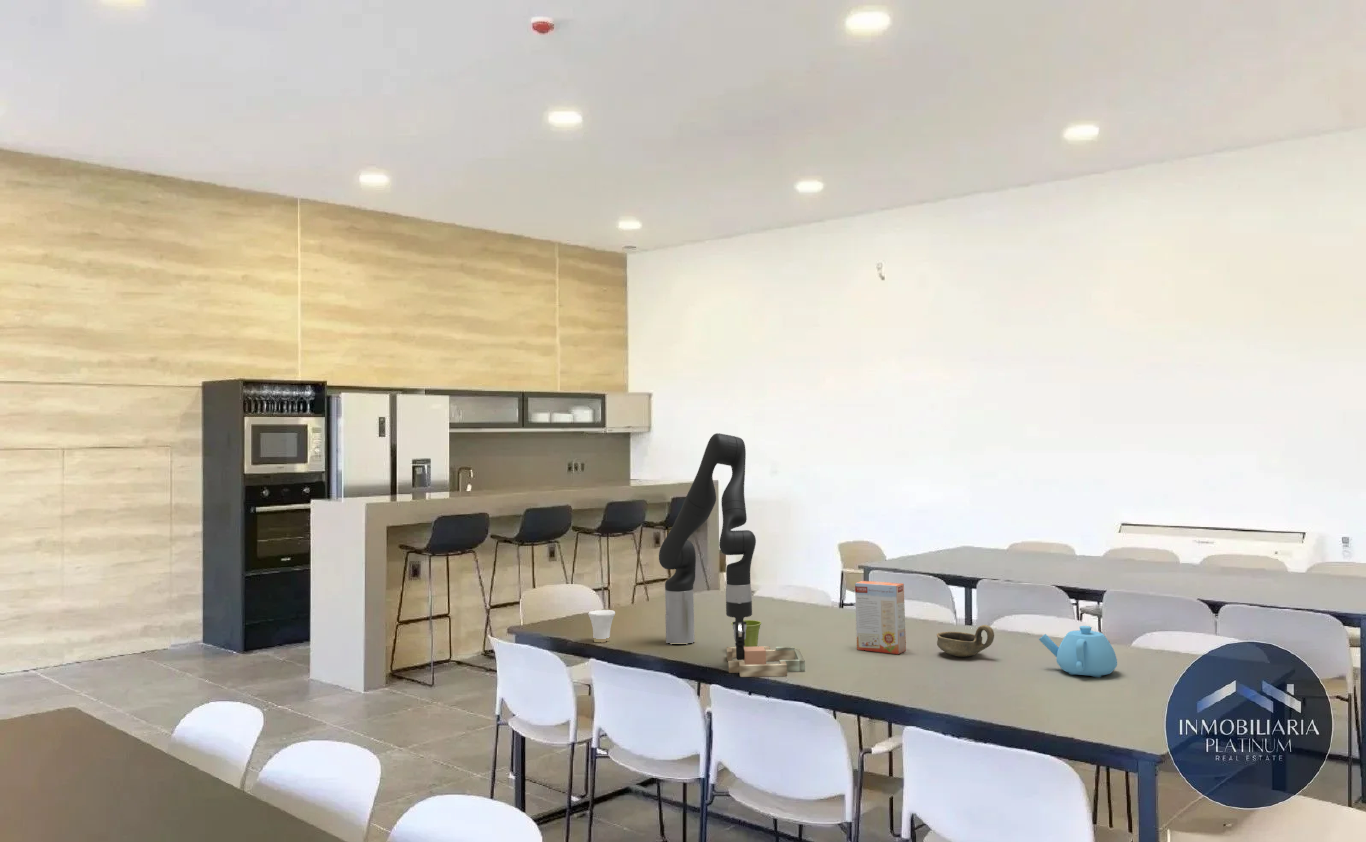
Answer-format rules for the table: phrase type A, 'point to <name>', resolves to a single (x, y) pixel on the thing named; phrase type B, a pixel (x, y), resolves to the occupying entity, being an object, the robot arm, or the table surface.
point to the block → (754, 655)
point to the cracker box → (880, 617)
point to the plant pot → (751, 633)
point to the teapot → (1083, 652)
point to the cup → (601, 623)
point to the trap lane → (788, 663)
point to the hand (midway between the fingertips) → (740, 659)
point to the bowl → (964, 642)
